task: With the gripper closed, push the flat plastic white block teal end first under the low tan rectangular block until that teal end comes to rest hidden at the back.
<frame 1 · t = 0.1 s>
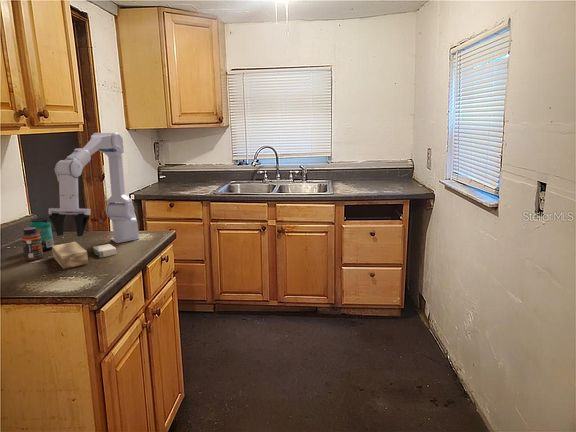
hand: (70, 235, 148), 11 cm above the countertop, tool pointing down, fingers open, 7 cm apart
supplement bottle: (34, 258, 159), on the countertop
tan rectangular block: (75, 259, 156), on the countertop
white block: (105, 253, 163), on the countertop
beverage can: (44, 249, 170), on the countertop
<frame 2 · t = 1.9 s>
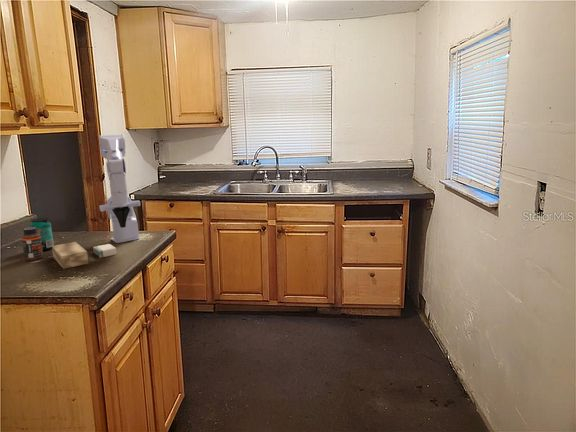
hand: (122, 226, 165), 9 cm above the countertop, tool pointing down, fingers closed
nothing on the countertop moved.
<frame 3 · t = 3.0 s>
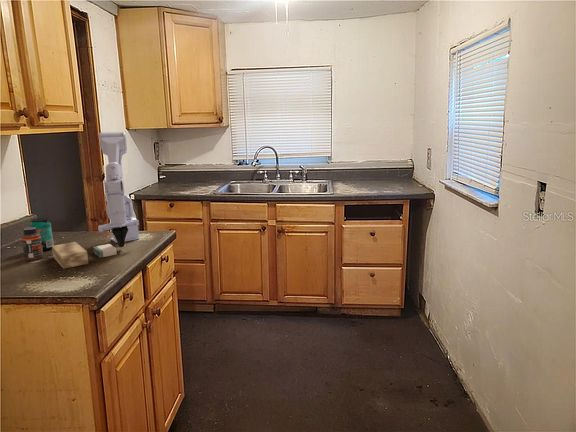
hand: (121, 246, 166), 1 cm above the countertop, tool pointing down, fingers closed
nothing on the countertop moved.
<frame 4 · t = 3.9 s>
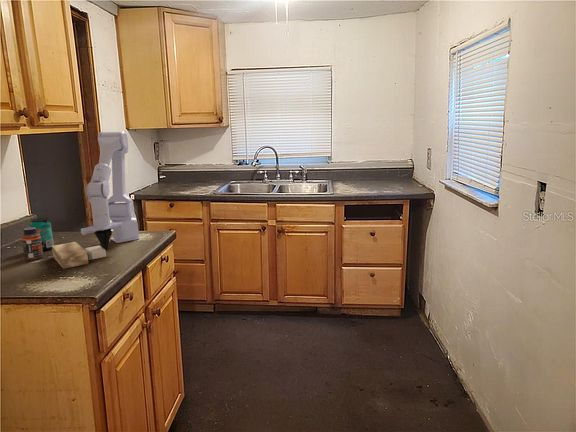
hand: (105, 249, 162), 1 cm above the countertop, tool pointing down, fingers closed
white block: (94, 255, 160), on the countertop, touching gripper
everything else where it was.
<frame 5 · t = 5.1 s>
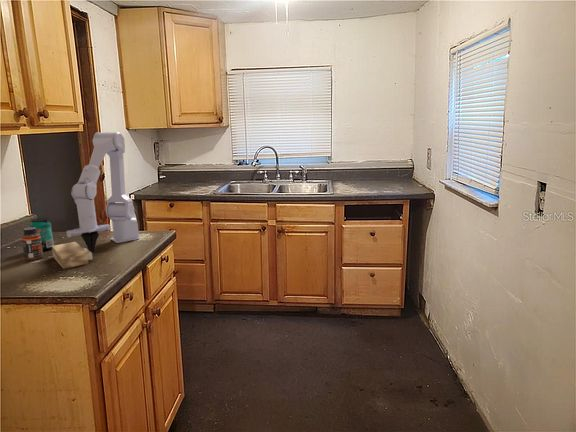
hand: (91, 252, 160), 1 cm above the countertop, tool pointing down, fingers closed
white block: (80, 258, 158), on the countertop, touching gripper
everything else where it was.
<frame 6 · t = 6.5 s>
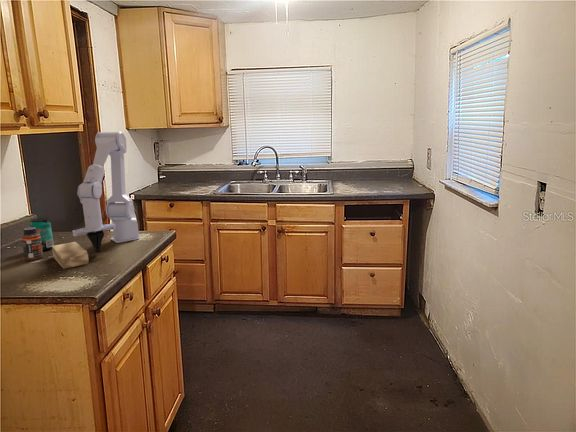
hand: (97, 251, 161), 1 cm above the countertop, tool pointing down, fingers closed
white block: (76, 259, 157), on the countertop
everything else where it was.
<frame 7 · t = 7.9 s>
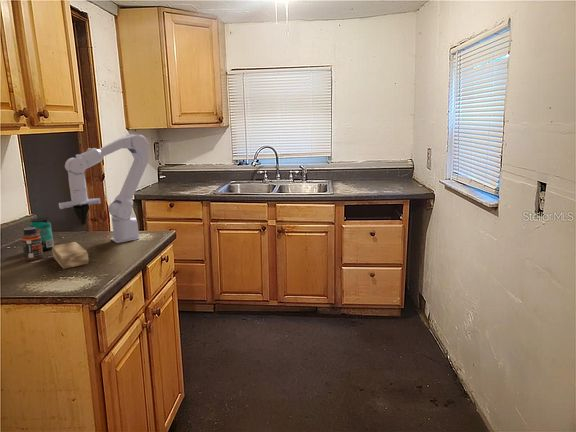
hand: (82, 224, 169), 9 cm above the countertop, tool pointing down, fingers closed
nothing on the countertop moved.
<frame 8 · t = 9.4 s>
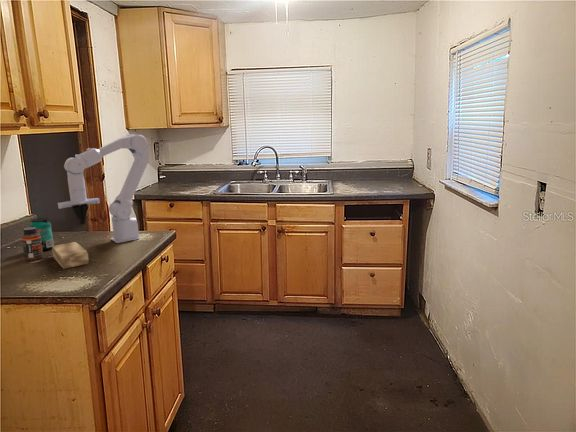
hand: (82, 223, 169), 9 cm above the countertop, tool pointing down, fingers closed
nothing on the countertop moved.
at the end: white block 0.0 cm off-centre on the tan rectangular block, point 0.0 cm above the tan rectangular block's base; white block tilted 0° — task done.
